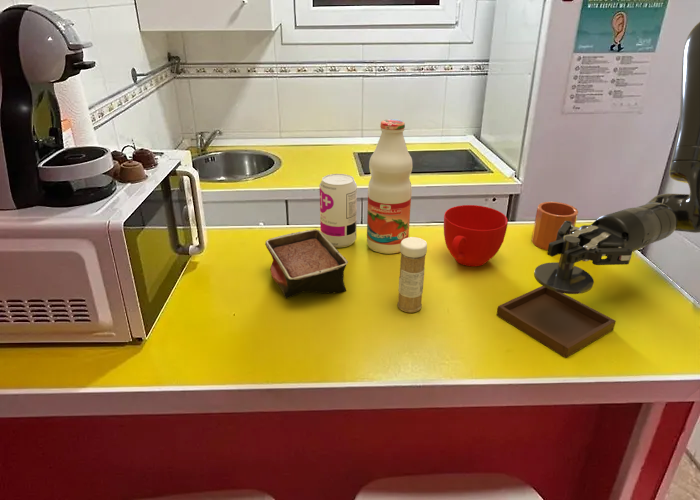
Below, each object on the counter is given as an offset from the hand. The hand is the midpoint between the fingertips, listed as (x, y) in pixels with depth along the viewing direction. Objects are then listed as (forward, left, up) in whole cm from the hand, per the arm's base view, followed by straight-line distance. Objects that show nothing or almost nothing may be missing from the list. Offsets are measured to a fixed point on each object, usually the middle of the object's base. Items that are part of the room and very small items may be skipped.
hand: (557, 254), depth 84 cm
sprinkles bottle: (+18, +15, -15) cm, 27 cm away
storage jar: (+20, -29, -14) cm, 38 cm away
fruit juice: (+40, +3, -15) cm, 42 cm away
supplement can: (+48, +11, -15) cm, 51 cm away
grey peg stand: (0, -3, -6) cm, 6 cm away
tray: (0, -3, -14) cm, 15 cm away
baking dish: (+36, +26, -15) cm, 47 cm away
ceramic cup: (+24, -6, -15) cm, 28 cm away
